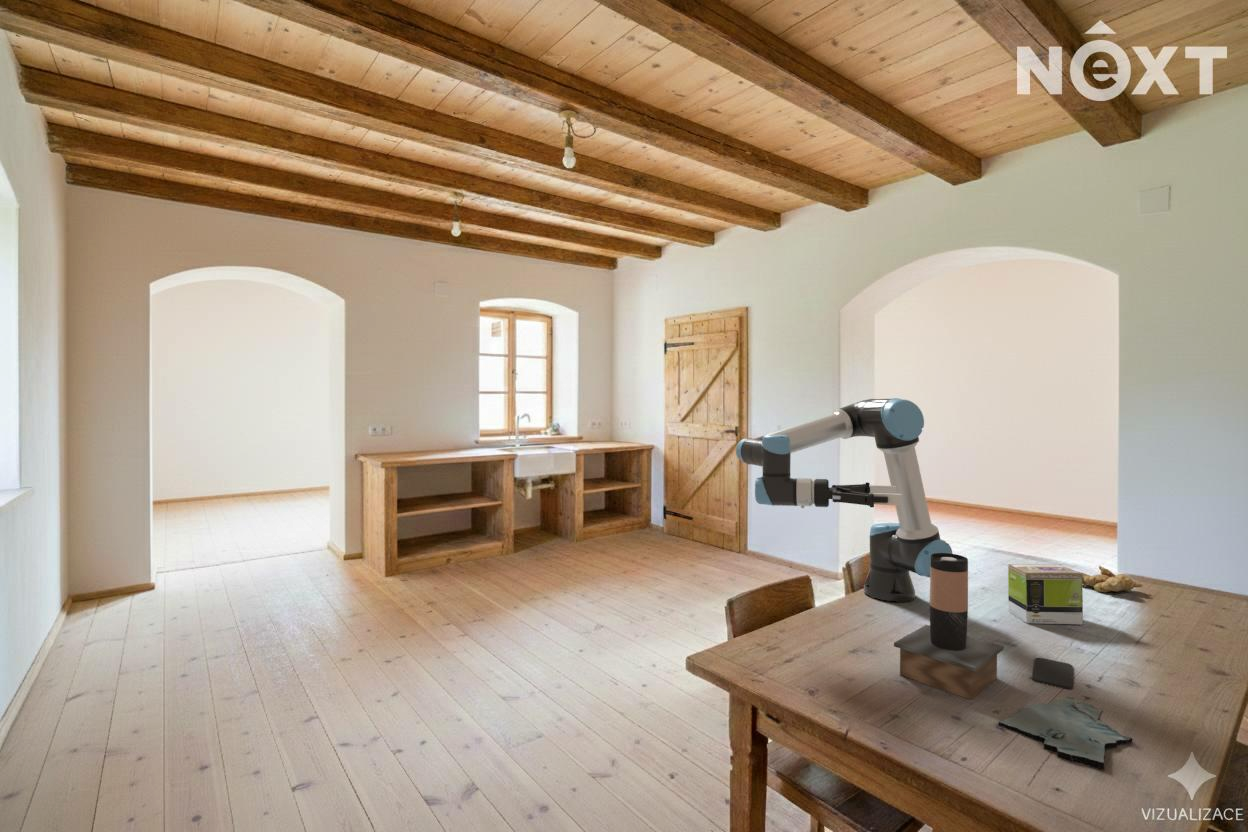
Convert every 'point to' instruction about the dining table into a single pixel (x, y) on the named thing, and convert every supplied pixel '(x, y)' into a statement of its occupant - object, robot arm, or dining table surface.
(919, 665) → the podium
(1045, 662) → the phone
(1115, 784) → the dining table surface
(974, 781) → the dining table surface
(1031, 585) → the tea box
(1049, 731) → the decorative slab
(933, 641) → the travel mug
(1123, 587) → the ginger root
